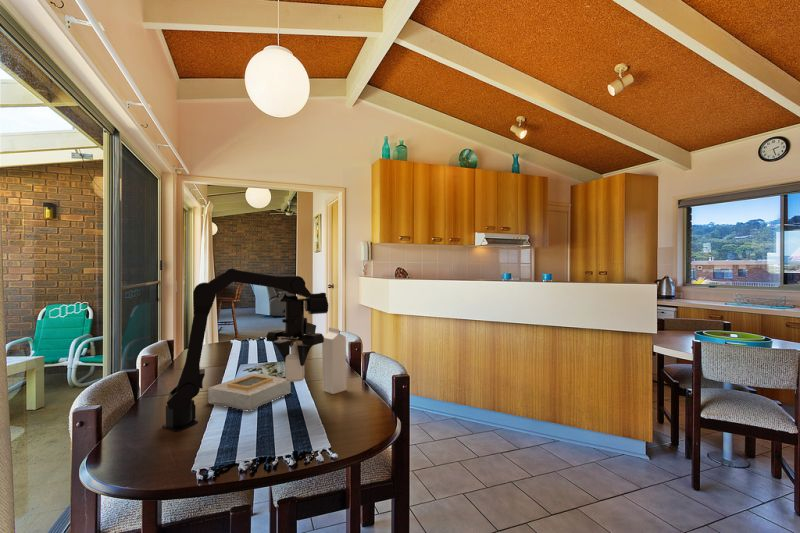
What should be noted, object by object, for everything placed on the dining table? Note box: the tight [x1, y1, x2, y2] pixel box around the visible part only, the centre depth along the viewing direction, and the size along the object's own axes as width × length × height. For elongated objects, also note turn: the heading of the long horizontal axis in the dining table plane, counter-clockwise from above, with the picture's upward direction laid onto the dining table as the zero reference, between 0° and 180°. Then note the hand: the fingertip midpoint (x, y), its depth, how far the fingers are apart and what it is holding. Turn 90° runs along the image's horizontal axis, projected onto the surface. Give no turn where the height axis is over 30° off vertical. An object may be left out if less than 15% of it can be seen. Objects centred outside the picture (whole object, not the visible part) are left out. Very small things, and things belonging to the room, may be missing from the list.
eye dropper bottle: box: [285, 341, 305, 383], centre depth 118 cm, size 4×6×12 cm
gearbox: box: [207, 373, 292, 412], centre depth 127 cm, size 23×18×6 cm
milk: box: [321, 327, 347, 395], centre depth 133 cm, size 6×6×22 cm
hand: (294, 364), depth 118 cm, fingers closed on eye dropper bottle, 6 cm apart
